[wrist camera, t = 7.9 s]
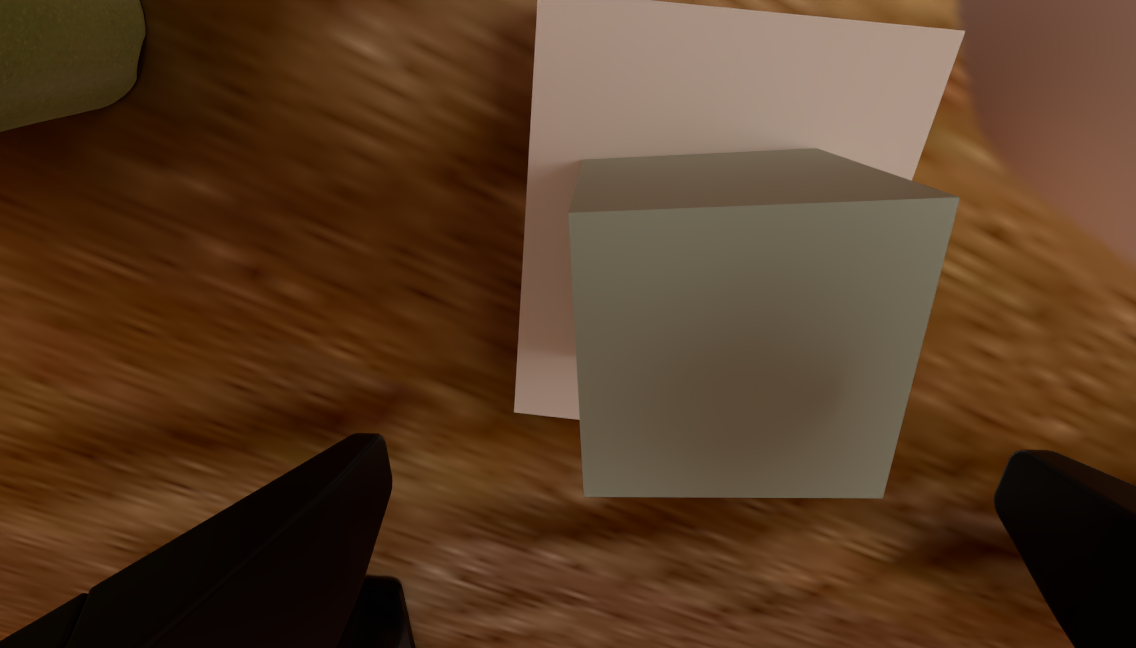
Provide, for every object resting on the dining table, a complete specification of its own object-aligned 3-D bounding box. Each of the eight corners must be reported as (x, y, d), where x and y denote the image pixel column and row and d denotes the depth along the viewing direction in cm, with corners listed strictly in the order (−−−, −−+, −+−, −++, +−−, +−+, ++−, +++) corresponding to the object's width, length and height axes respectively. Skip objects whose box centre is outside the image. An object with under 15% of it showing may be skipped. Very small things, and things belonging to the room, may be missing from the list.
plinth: (779, 383, 21) (816, 446, 17) (529, 355, 21) (514, 412, 18) (883, 42, 16) (964, 31, 12) (553, 10, 16) (538, -11, 12)
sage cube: (788, 354, 16) (882, 498, 11) (591, 358, 16) (584, 496, 11) (817, 148, 13) (960, 196, 8) (582, 159, 14) (568, 212, 9)
